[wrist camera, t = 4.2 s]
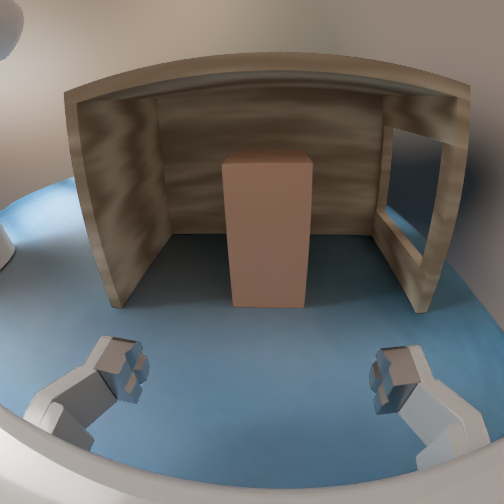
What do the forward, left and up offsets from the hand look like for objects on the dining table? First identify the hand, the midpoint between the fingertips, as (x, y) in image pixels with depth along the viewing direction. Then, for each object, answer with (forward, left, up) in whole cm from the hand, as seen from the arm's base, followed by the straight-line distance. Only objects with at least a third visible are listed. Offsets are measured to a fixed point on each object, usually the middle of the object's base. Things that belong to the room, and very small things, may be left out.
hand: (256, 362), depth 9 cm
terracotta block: (+9, +8, -6) cm, 13 cm away
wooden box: (+12, +10, -6) cm, 16 cm away
